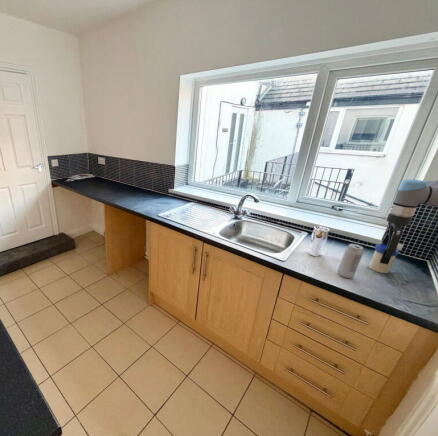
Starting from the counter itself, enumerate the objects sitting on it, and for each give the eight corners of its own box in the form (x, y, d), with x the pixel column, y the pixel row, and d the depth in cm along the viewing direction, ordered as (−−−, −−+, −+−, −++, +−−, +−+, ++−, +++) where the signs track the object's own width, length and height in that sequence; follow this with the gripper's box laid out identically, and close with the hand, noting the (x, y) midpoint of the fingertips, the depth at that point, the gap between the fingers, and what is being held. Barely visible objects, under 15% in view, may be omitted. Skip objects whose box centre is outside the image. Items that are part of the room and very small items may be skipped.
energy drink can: (343, 270, 115) (354, 242, 110) (356, 277, 110) (368, 248, 104) (333, 271, 114) (344, 244, 108) (346, 279, 109) (358, 250, 103)
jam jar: (380, 265, 120) (388, 246, 117) (393, 273, 114) (401, 253, 110) (365, 264, 121) (372, 245, 117) (376, 272, 114) (384, 252, 110)
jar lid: (370, 247, 118) (371, 243, 117) (387, 248, 117) (389, 244, 117) (383, 255, 111) (385, 251, 110) (402, 256, 110) (403, 252, 109)
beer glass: (309, 248, 135) (316, 224, 130) (323, 254, 130) (332, 228, 125) (304, 253, 131) (311, 228, 125) (319, 258, 126) (327, 232, 120)
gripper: (385, 207, 117) (369, 249, 125) (393, 219, 101) (375, 266, 109) (406, 210, 113) (388, 253, 121) (419, 223, 97) (397, 271, 105)
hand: (382, 259), depth 115 cm, fingers closed on jar lid, 8 cm apart
